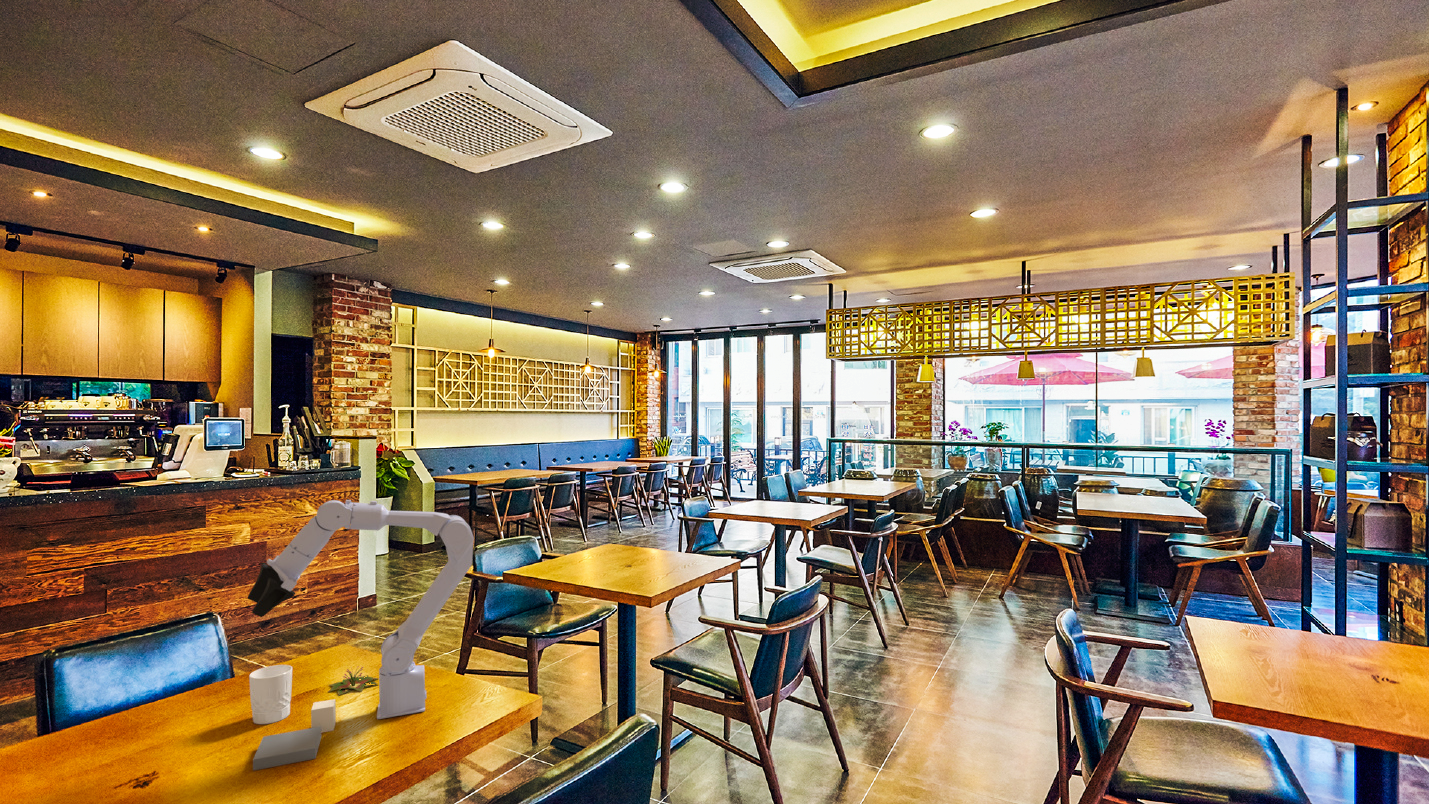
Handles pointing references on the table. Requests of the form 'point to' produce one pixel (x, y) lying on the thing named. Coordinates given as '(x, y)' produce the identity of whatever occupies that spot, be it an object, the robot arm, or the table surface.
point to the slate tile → (287, 748)
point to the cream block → (323, 715)
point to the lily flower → (352, 682)
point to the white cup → (270, 693)
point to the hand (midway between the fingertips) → (254, 607)
